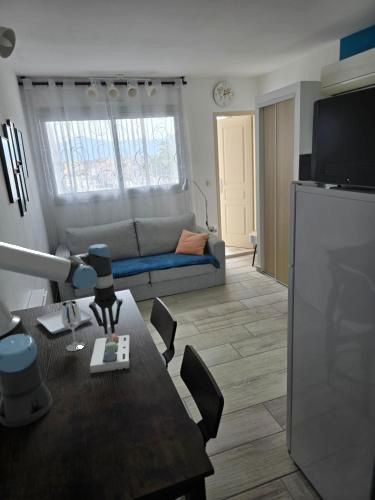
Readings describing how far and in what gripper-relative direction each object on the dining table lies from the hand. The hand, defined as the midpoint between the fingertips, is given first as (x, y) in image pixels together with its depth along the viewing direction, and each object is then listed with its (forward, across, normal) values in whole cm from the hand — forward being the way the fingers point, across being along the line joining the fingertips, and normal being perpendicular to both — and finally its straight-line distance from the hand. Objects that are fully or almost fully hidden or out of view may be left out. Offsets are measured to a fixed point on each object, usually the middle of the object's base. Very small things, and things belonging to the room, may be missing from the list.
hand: (111, 340), depth 129 cm
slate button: (+4, 0, +7) cm, 8 cm away
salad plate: (+7, +25, -36) cm, 44 cm away
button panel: (+7, 0, 0) cm, 7 cm away
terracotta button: (+5, 0, -6) cm, 8 cm away
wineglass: (+7, +16, -11) cm, 21 cm away
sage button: (+5, 0, 0) cm, 5 cm away
